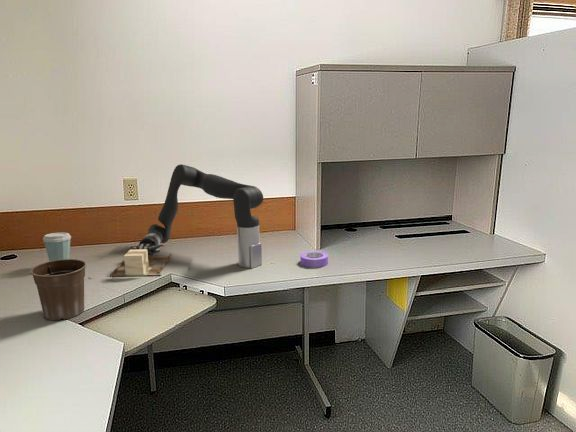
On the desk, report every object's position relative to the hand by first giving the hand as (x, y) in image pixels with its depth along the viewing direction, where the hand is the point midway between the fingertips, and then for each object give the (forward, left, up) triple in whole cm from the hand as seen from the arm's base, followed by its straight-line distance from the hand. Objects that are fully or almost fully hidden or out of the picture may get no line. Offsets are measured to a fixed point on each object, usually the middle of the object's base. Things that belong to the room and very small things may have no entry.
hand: (139, 255), depth 189 cm
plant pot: (-17, +38, -7) cm, 42 cm away
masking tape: (-49, -53, -7) cm, 73 cm away
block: (-3, +3, -5) cm, 7 cm away
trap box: (+3, -3, -7) cm, 8 cm away
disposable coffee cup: (+30, +20, -7) cm, 37 cm away
